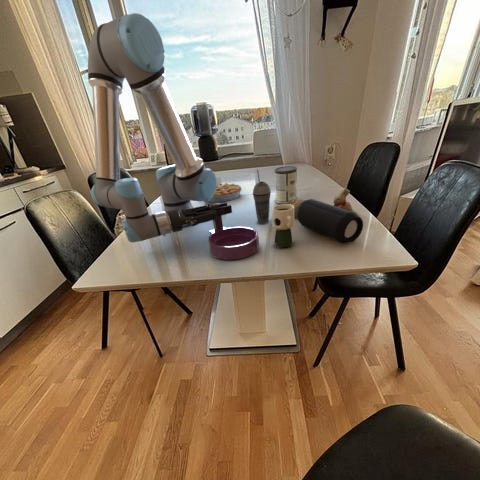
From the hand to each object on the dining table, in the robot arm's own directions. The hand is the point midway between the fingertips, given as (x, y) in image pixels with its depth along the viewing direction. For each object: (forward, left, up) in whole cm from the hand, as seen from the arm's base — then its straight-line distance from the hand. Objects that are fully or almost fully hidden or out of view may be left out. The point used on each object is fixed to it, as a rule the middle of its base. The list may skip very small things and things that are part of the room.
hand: (229, 207), depth 106 cm
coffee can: (0, +44, -10) cm, 45 cm away
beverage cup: (+5, +15, -10) cm, 19 cm away
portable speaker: (+34, +12, -10) cm, 37 cm away
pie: (-37, +40, -10) cm, 55 cm away
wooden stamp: (-3, -5, -10) cm, 11 cm away
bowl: (+10, -12, -10) cm, 19 cm away
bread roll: (+15, +28, -10) cm, 33 cm away
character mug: (+24, -2, -10) cm, 26 cm away
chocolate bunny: (+31, +36, -10) cm, 49 cm away
